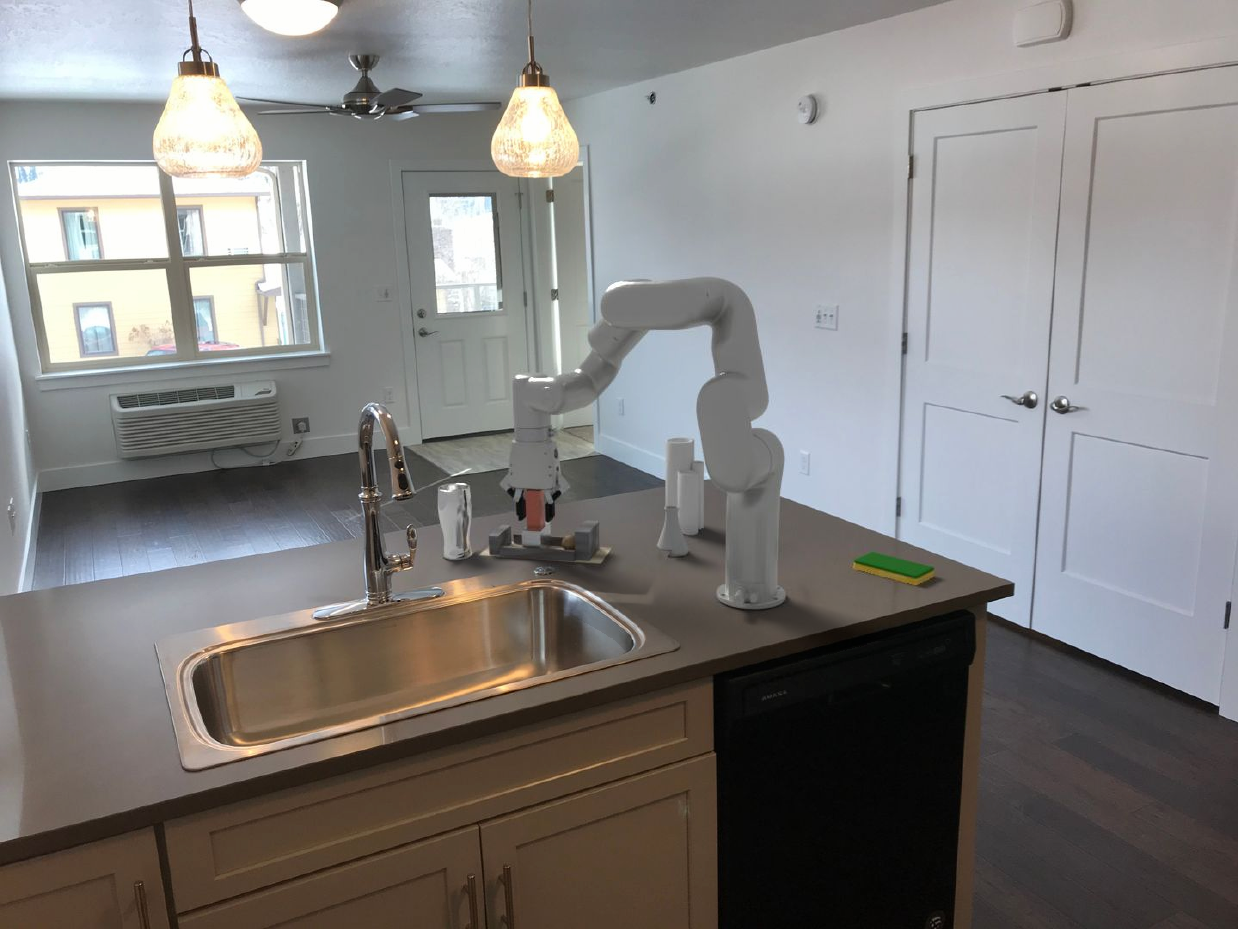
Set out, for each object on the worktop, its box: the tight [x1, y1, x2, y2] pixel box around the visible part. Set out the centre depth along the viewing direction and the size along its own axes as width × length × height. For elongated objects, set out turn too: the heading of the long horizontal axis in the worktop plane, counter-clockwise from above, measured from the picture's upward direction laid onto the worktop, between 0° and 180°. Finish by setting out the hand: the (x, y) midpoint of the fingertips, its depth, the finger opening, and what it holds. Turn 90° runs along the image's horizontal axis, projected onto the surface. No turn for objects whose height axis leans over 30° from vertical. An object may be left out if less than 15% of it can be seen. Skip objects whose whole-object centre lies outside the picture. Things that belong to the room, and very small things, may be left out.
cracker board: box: [478, 520, 613, 564], centre depth 200 cm, size 10×26×8 cm, turn 77°
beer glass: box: [437, 482, 473, 561], centre depth 202 cm, size 7×7×15 cm
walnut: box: [562, 534, 575, 550], centre depth 199 cm, size 4×4×4 cm
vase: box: [664, 437, 705, 536], centre depth 219 cm, size 11×7×20 cm, turn 27°
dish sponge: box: [853, 551, 935, 586], centre depth 190 cm, size 7×14×2 cm, turn 44°
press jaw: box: [521, 489, 552, 549], centre depth 200 cm, size 7×4×13 cm, turn 166°
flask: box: [656, 505, 689, 558], centre depth 203 cm, size 7×7×10 cm
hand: (535, 519), depth 200 cm, fingers open, 5 cm apart
